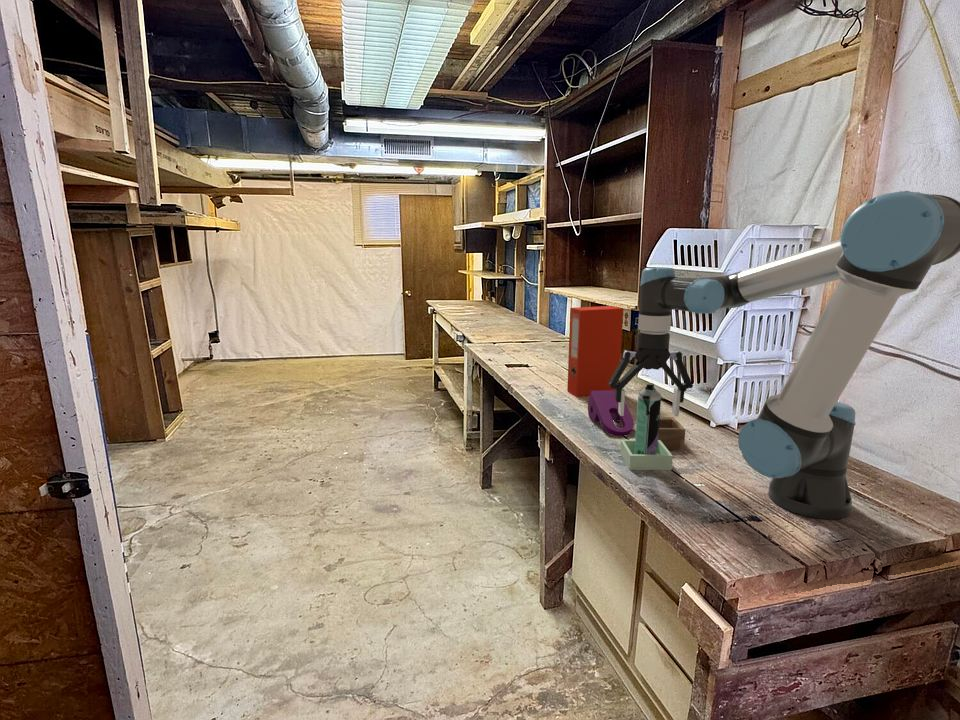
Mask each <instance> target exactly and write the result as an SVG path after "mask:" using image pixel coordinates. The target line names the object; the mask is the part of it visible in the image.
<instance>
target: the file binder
mask: <svg viewBox="0 0 960 720" xmlns="http://www.w3.org/2000/svg"><path fill="white" fill-rule="evenodd" d="M623 318H624V308H623V307H620V306H614V305H600V306H599V305H597V306H585V307H584V306H583V307H570V311H569V334H568V335H569V337H568V338H569V339H568V362H567V363H568V365H567V368H568V369H567V389H566V390H567V392H568V393H569V394H571V395H572V396H574V397H575V398H582V397H583V398H584V397H590V393H591V391H603V390H615V389H614V388H611V387H610V386H609V384H608V382H609V380H610V379H611V377H612V375H613V373H614V372H615V370H616V368H617V366H618V365H619V363H620V361H621V354H622V353H621V352H622V340H623V339H622V337H623V323H624V319H623ZM619 380H620V379H619ZM619 380H618V381H619Z"/></svg>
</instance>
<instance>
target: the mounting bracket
mask: <svg viewBox="0 0 960 720" xmlns="http://www.w3.org/2000/svg"><path fill="white" fill-rule="evenodd" d="M588 397H589V398H588V401H587V403H588V404H587V412H588V413H587V414H588V417H589V418H588V419H589V420H590V422H592V423H600V426H601V428H602V429H603V430H604V432H606V433H607V434H608V435H610V436H613V437H625V435H627V436H630V434H632V432H633V430H634V427H635V421H634V418H633V415H632V413H631V411H630V409H629V408H628V405H627V403H626V401H624V416H620V414H619V413H618V407H619V402H616V400H615V390H603V391H591V393H590V396H588ZM613 420H614V421H613ZM615 422H620V424H621V425H622V427H619V426H616V424H615Z"/></svg>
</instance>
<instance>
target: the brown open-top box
mask: <svg viewBox="0 0 960 720" xmlns="http://www.w3.org/2000/svg"><path fill="white" fill-rule="evenodd" d="M685 439H686V428H685V427H684V426H683V425H682V424H681V423H680V422H679V421H678V420H677V419H676V417H674V416H661V415H660V419H659V432H658V440H660V441H661V442H662V443H663V444H664V446H665V447H666V448H667V449H668V451H684V450H685Z"/></svg>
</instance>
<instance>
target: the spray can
mask: <svg viewBox="0 0 960 720" xmlns="http://www.w3.org/2000/svg"><path fill="white" fill-rule="evenodd" d="M637 396H638V397H637V409H636V424H635V425H636V426H635V439H634V440H635V452H634V454H643V455H657V445H658V432H659V419H660V416H661V403H662V393H661V392H659V391H658V390H657V389H656V388H655V384H654V383H652V382H651V383H647V384H646V386H645V387H644V388H643V389H642V390H640V391H638V395H637Z"/></svg>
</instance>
